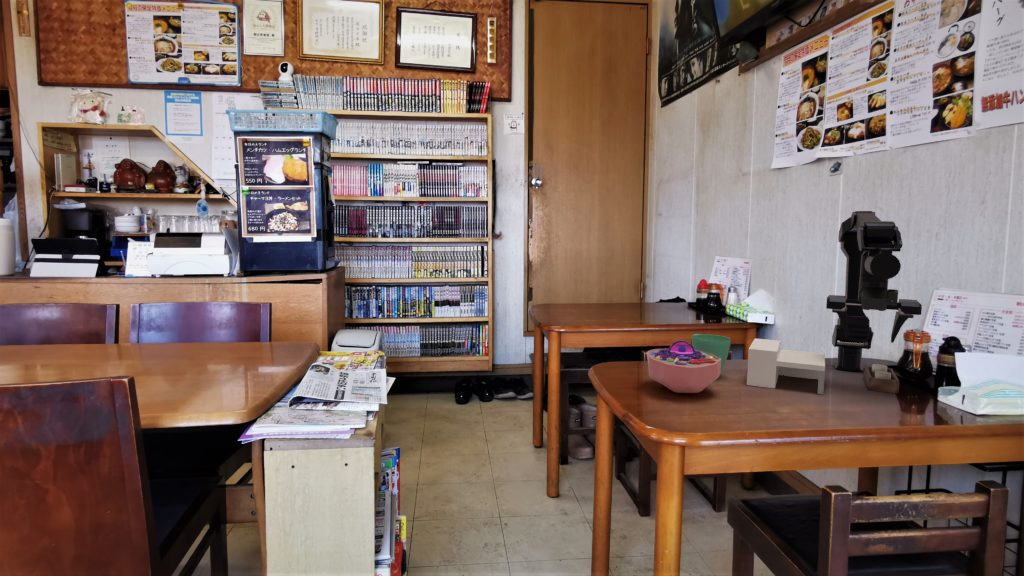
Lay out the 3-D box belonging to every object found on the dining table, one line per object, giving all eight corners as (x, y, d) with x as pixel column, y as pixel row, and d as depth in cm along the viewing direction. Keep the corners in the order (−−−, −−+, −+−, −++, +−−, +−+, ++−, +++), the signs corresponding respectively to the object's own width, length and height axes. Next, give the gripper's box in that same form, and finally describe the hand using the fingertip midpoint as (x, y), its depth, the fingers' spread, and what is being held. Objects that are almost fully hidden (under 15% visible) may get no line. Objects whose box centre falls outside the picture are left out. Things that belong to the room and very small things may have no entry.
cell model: (641, 398, 126) (643, 348, 125) (647, 377, 145) (649, 333, 144) (722, 406, 121) (724, 354, 120) (717, 383, 140) (719, 338, 139)
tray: (868, 390, 135) (869, 373, 134) (863, 377, 147) (864, 362, 147) (898, 393, 132) (899, 376, 132) (891, 380, 144) (892, 364, 144)
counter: (753, 371, 152) (754, 338, 151) (822, 379, 145) (824, 344, 144) (746, 384, 138) (748, 348, 137) (823, 394, 130) (825, 356, 130)
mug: (736, 379, 143) (738, 341, 142) (700, 380, 142) (702, 341, 141) (709, 366, 157) (710, 331, 156) (675, 367, 156) (677, 331, 155)
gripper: (828, 276, 130) (824, 342, 132) (928, 280, 121) (921, 351, 123) (828, 272, 140) (824, 334, 141) (920, 276, 130) (914, 342, 132)
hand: (868, 340), depth 134 cm, fingers open, 9 cm apart
